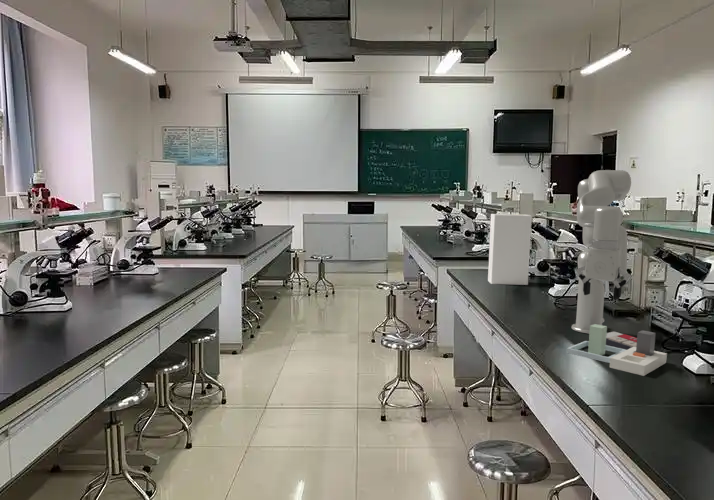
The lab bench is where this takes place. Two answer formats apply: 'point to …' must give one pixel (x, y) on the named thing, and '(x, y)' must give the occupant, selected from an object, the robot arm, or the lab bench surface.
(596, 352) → the sage plug
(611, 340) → the calculator
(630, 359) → the power strip
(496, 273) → the storage box
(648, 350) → the dark gray block
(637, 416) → the lab bench surface
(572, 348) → the light blue square frame
